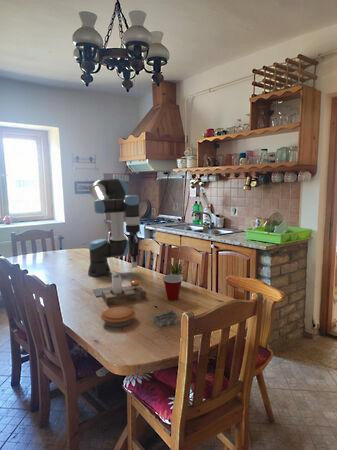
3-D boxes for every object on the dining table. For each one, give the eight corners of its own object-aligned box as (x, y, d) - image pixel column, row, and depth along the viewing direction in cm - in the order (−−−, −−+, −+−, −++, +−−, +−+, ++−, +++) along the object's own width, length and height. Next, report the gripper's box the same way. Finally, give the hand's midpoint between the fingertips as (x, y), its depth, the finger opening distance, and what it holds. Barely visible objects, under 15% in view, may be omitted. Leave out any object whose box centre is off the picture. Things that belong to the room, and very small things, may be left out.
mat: (92, 290, 186) (92, 289, 186) (113, 287, 190) (112, 286, 190) (96, 297, 175) (96, 296, 175) (117, 293, 179) (117, 292, 179)
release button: (130, 290, 176) (129, 280, 175) (137, 289, 177) (137, 279, 177) (132, 292, 172) (132, 283, 171) (140, 291, 173) (139, 281, 173)
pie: (136, 313, 152) (136, 303, 151) (134, 328, 137) (134, 317, 136) (104, 314, 152) (104, 304, 151) (98, 330, 136) (97, 319, 136)
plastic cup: (165, 304, 163) (165, 281, 161) (160, 296, 173) (160, 275, 172) (185, 301, 166) (185, 279, 164) (179, 294, 176) (179, 273, 174)
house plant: (192, 283, 194) (192, 257, 192) (187, 291, 181) (187, 263, 178) (170, 282, 198) (169, 256, 195) (163, 289, 185) (163, 262, 182)
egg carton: (174, 317, 147) (174, 309, 147) (179, 324, 140) (179, 315, 140) (152, 321, 144) (151, 312, 144) (156, 328, 137) (156, 319, 137)
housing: (102, 297, 175) (101, 290, 174) (138, 291, 182) (138, 284, 182) (107, 305, 163) (106, 298, 162) (146, 298, 171) (145, 291, 170)
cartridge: (112, 298, 173) (110, 273, 171) (121, 296, 174) (119, 272, 172) (114, 301, 168) (112, 275, 166) (123, 299, 170) (122, 274, 168)
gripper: (122, 223, 174) (124, 265, 177) (129, 226, 162) (131, 271, 165) (135, 222, 177) (137, 263, 180) (143, 225, 165) (144, 269, 168)
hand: (134, 267), depth 173 cm, fingers closed
